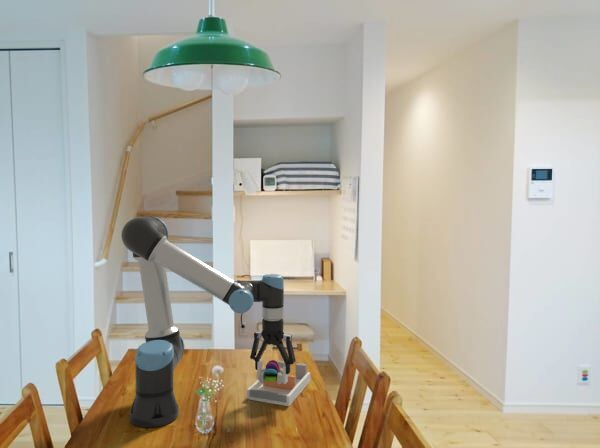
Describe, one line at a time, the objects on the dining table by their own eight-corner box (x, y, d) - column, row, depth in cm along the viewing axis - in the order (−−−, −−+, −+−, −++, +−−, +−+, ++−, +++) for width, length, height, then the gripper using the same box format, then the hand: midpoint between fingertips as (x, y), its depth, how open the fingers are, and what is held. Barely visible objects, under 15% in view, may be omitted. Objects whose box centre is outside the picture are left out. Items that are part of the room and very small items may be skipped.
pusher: (294, 390, 169) (294, 377, 169) (262, 385, 173) (263, 372, 173) (304, 379, 179) (304, 367, 179) (274, 375, 184) (274, 362, 183)
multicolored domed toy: (286, 376, 168) (286, 357, 168) (281, 387, 159) (281, 367, 158) (263, 375, 169) (263, 356, 169) (257, 386, 160) (257, 365, 159)
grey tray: (289, 406, 159) (289, 387, 158) (246, 399, 164) (247, 381, 164) (310, 381, 181) (310, 364, 181) (272, 375, 187) (272, 359, 186)
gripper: (305, 318, 163) (304, 380, 164) (249, 313, 170) (249, 372, 171) (298, 323, 156) (298, 388, 157) (240, 318, 163) (240, 380, 164)
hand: (272, 380), depth 164 cm, fingers closed on multicolored domed toy, 9 cm apart
